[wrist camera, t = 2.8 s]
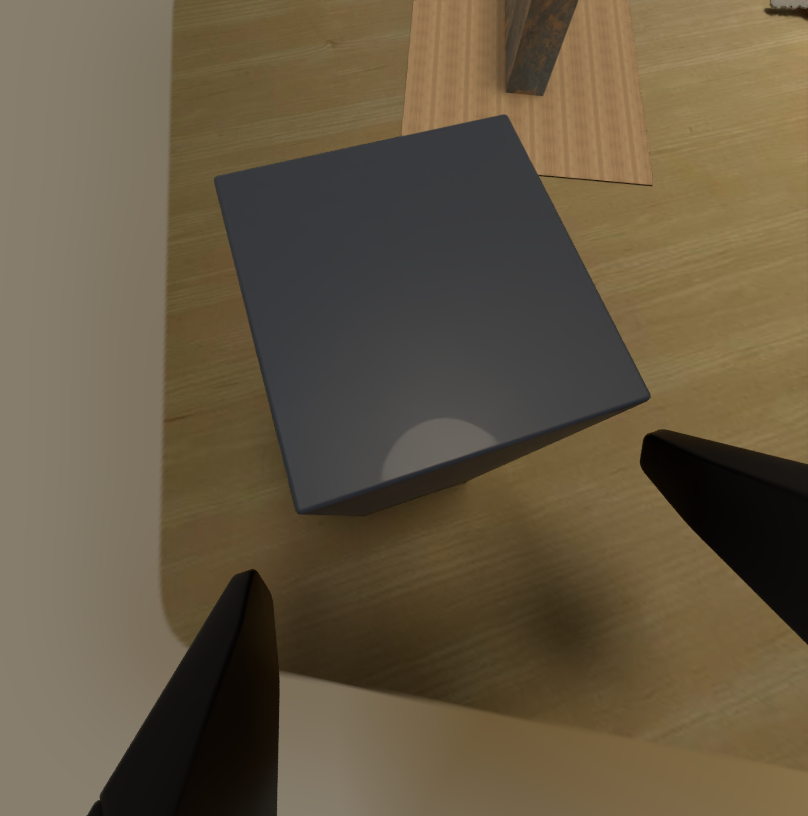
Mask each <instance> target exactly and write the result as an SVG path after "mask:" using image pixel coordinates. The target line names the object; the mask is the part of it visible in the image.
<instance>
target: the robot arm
mask: <svg viewBox="0 0 808 816" xmlns="http://www.w3.org/2000/svg"><path fill="white" fill-rule="evenodd" d="M640 465H641V468H642V470H643V472H644V473H645V474H646V475H647V477H648V478H649V479H650V480H651V481H652V483H653V484H654V485H655V486H656V487H657V489H658V490H659V491H660V492H661V493H662V495H663V496H664V497H665V498H666V499H667V501H668V502H669V503H670V504H671V505H672V507H673V508H674V509H675V510H676V511H677V513H678V514H679V515H680V516H681V517H682V518H683V520H684V521H685V522H686V523H687V524H688V525H689V526H690V527H691V528H692V529H693V531H694V532H695V533H696V534H697V535H698V536H699V537H700V538H701V539H702V540H703V541H704V542H705V543H706V544H707V545H708V546H709V547H710V548H711V549H712V550H713V551H714V552H715V553H716V554H717V555H718V556H719V557H720V558H721V559H722V560H723V561H724V562H725V563H726V564H727V565H728V566H729V567H730V568H731V569H732V570H733V571H734V572H735V573H736V574H737V575H738V576H739V577H740V578H741V579H742V580H743V581H744V582H745V583H746V584H747V585H748V586H749V587H750V588H751V589H752V590H753V591H754V592H755V593H756V594H757V595H758V596H759V597H760V598H761V599H762V600H763V601H764V602H765V603H766V604H767V605H768V606H769V607H770V608H771V609H772V610H773V611H774V612H775V613H776V614H777V615H778V616H779V617H780V618H781V619H782V620H783V621H784V622H785V623H786V624H787V625H788V626H789V627H790V628H791V629H792V630H793V631H794V632H795V633H796V634H797V635H798V636H799V637H800V638H801V639H802V640H803V641H804V642H805V643H806V644H807V645H808V464H804V463H800V462H796V461H792V460H788V459H784V458H780V457H776V456H772V455H768V454H764V453H760V452H755V451H751V450H747V449H743V448H739V447H735V446H731V445H727V444H723V443H719V442H715V441H711V440H706V439H702V438H698V437H694V436H690V435H686V434H682V433H678V432H674V431H670V430H665V429H662V430H657V431H655V432H652V433H649V434H647V435H645V437H644V439H643V444H642V450H641V457H640ZM278 738H279V666H278V654H277V643H276V631H275V619H274V607H273V600H272V596H271V593H270V591H269V589H268V588H267V586H266V584H265V583H264V581H263V580H262V578H261V576H260V575H259V573H258V572H257V571H256V570H255V569H251V570H248V571H245V572H242V573H239V574H236V575H235V576H234V577H233V578H232V579H231V580H230V582H229V584H228V585H227V587H226V589H225V590H224V592H223V593H222V595H221V597H220V598H219V600H218V602H217V603H216V605H215V607H214V608H213V610H212V611H211V613H210V615H209V616H208V618H207V620H206V621H205V623H204V625H203V626H202V628H201V630H200V631H199V633H198V634H197V636H196V638H195V639H194V641H193V643H192V644H191V646H190V648H189V649H188V651H187V653H186V654H185V656H184V657H183V659H182V661H181V663H180V664H179V666H178V667H177V669H176V671H175V672H174V674H173V676H172V677H171V679H170V681H169V682H168V684H167V685H166V687H165V689H164V690H163V692H162V694H161V695H160V697H159V699H158V700H157V702H156V703H155V705H154V707H153V708H152V710H151V712H150V713H149V715H148V717H147V718H146V720H145V722H144V723H143V725H142V726H141V728H140V730H139V731H138V733H137V735H136V736H135V738H134V740H133V741H132V743H131V744H130V746H129V748H128V749H127V751H126V753H125V754H124V756H123V758H122V759H121V761H120V763H119V764H118V766H117V767H116V769H115V771H114V772H113V774H112V776H111V777H110V779H109V781H108V782H107V784H106V786H105V787H104V789H103V791H102V792H101V794H100V800H98V801H97V802H95V803H94V805H93V806H92V808H91V810H90V811H89V813H88V815H87V816H277V782H278Z"/></svg>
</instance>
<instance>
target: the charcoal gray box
mask: <svg viewBox="0 0 808 816" xmlns="http://www.w3.org/2000/svg"><path fill="white" fill-rule="evenodd" d="M214 184H215V188H216V192H217V196H218V200H219V204H220V208H221V212H222V216H223V220H224V224H225V228H226V232H227V236H228V240H229V244H230V248H231V252H232V256H233V260H234V264H235V268H236V272H237V276H238V281H239V285H240V289H241V293H242V297H243V301H244V305H245V309H246V313H247V317H248V321H249V325H250V329H251V333H252V337H253V341H254V345H255V349H256V353H257V357H258V361H259V365H260V369H261V373H262V377H263V381H264V385H265V389H266V393H267V398H268V402H269V406H270V410H271V414H272V418H273V422H274V426H275V430H276V434H277V438H278V442H279V446H280V450H281V454H282V458H283V462H284V466H285V470H286V474H287V478H288V482H289V486H290V490H291V494H292V498H293V502H294V506H295V510H296V512H297V513H298V514H303V515H344V516H365V515H368V514H371V513H374V512H377V511H380V510H383V509H385V508H388V507H391V506H394V505H397V504H400V503H403V502H406V501H409V500H412V499H415V498H418V497H421V496H424V495H427V494H430V493H433V492H436V491H439V490H442V489H445V488H448V487H451V486H454V485H457V484H460V483H463V482H466V481H469V480H471V479H473V478H475V477H478V476H480V475H482V474H484V473H487V472H489V471H491V470H493V469H496V468H498V467H500V466H502V465H505V464H507V463H509V462H511V461H514V460H516V459H518V458H520V457H523V456H525V455H527V454H529V453H532V452H534V451H536V450H538V449H541V448H543V447H545V446H547V445H550V444H552V443H554V442H556V441H559V440H561V439H563V438H565V437H568V436H570V435H572V434H574V433H577V432H579V431H581V430H583V429H586V428H588V427H590V426H592V425H595V424H597V423H599V422H601V421H604V420H606V419H608V418H610V417H613V416H615V415H617V414H619V413H622V412H624V411H626V410H628V409H631V408H633V407H635V406H637V405H640V404H642V403H644V402H646V401H648V400H649V399H650V393H649V391H648V389H647V387H646V385H645V383H644V381H643V379H642V377H641V375H640V373H639V371H638V369H637V367H636V365H635V363H634V361H633V359H632V357H631V356H630V354H629V352H628V350H627V348H626V346H625V344H624V342H623V340H622V338H621V336H620V334H619V332H618V330H617V328H616V326H615V324H614V322H613V320H612V318H611V316H610V315H609V313H608V311H607V309H606V307H605V305H604V303H603V301H602V299H601V297H600V295H599V293H598V291H597V289H596V287H595V285H594V283H593V281H592V279H591V277H590V275H589V274H588V272H587V270H586V268H585V266H584V264H583V262H582V260H581V258H580V256H579V254H578V252H577V250H576V248H575V246H574V244H573V242H572V240H571V238H570V236H569V234H568V232H567V231H566V229H565V227H564V225H563V223H562V221H561V219H560V217H559V215H558V213H557V211H556V209H555V207H554V205H553V203H552V201H551V199H550V197H549V195H548V193H547V191H546V190H545V188H544V186H543V184H542V182H541V180H540V178H539V176H538V174H537V172H536V170H535V168H534V166H533V164H532V162H531V160H530V158H529V156H528V154H527V152H526V150H525V149H524V147H523V145H522V143H521V141H520V139H519V137H518V135H517V133H516V131H515V129H514V127H513V125H512V123H511V121H510V119H509V117H508V116H507V115H505V114H502V115H498V116H493V117H488V118H484V119H479V120H474V121H470V122H465V123H460V124H456V125H451V126H447V127H442V128H437V129H433V130H428V131H423V132H419V133H414V134H409V135H405V136H400V137H396V138H391V139H386V140H382V141H377V142H372V143H368V144H363V145H358V146H354V147H349V148H345V149H340V150H335V151H331V152H326V153H321V154H317V155H312V156H307V157H303V158H298V159H294V160H289V161H284V162H280V163H275V164H270V165H266V166H261V167H256V168H252V169H247V170H243V171H238V172H233V173H229V174H224V175H219V176H216V177H215V178H214Z"/></svg>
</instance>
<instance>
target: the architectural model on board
mask: <svg viewBox="0 0 808 816" xmlns="http://www.w3.org/2000/svg"><path fill="white" fill-rule="evenodd" d="M502 114H505V115H507V116H508V117H509V119H510V121H511V123H512V125H513V127H514V129H515V131H516V133H517V135H518V137H519V139H520V141H521V143H522V145H523V147H524V149H525V150H526V152H527V154H528V156H529V158H530V160H531V162H532V164H533V166H534V168H535V170H536V172H537V174H538V175H548V176H559V177H570V178H581V179H592V180H603V181H614V182H625V183H636V184H647V185H653V179H652V171H651V164H650V156H649V149H648V142H647V134H646V127H645V119H644V112H643V104H642V97H641V89H640V82H639V74H638V67H637V59H636V52H635V44H634V37H633V29H632V22H631V14H630V7H629V0H414V4H413V15H412V26H411V37H410V48H409V59H408V70H407V81H406V92H405V103H404V114H403V125H402V136H405V135H409V134H414V133H419V132H423V131H428V130H433V129H437V128H442V127H447V126H451V125H456V124H460V123H465V122H470V121H474V120H479V119H484V118H488V117H493V116H498V115H502Z"/></svg>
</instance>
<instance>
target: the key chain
mask: <svg viewBox="0 0 808 816" xmlns="http://www.w3.org/2000/svg"><path fill="white" fill-rule="evenodd" d="M770 6H771V7H772V8H776V9H780V8H785V9H789V7H791V9H792V10H794V9H795V8H798V7H800V8H803V9H807V8H808V0H770Z"/></svg>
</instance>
